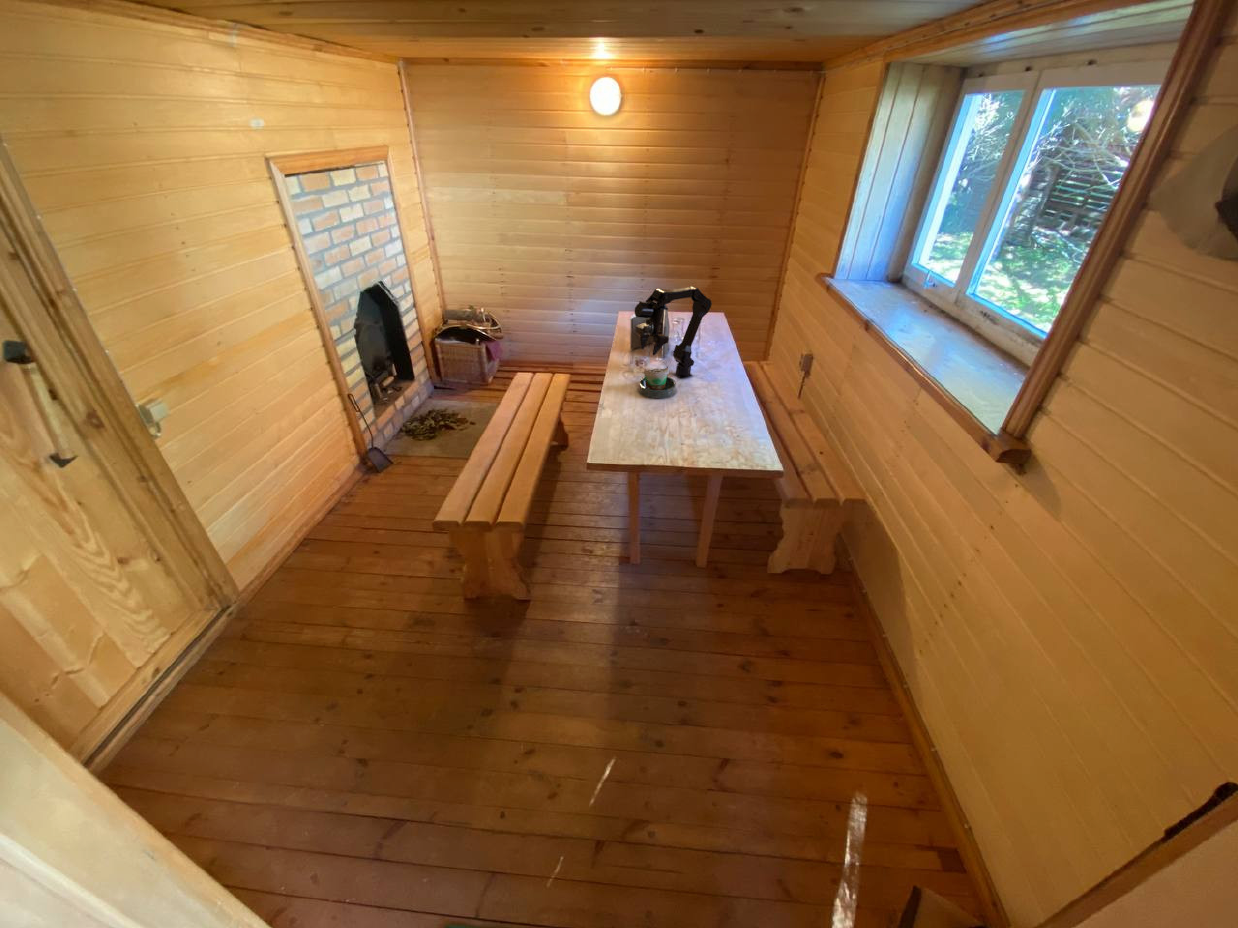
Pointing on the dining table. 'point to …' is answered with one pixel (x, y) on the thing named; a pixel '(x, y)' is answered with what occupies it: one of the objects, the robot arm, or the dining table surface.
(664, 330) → the silver laptop
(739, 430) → the dining table surface
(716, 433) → the dining table surface
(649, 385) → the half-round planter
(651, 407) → the dining table surface
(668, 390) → the bowl
